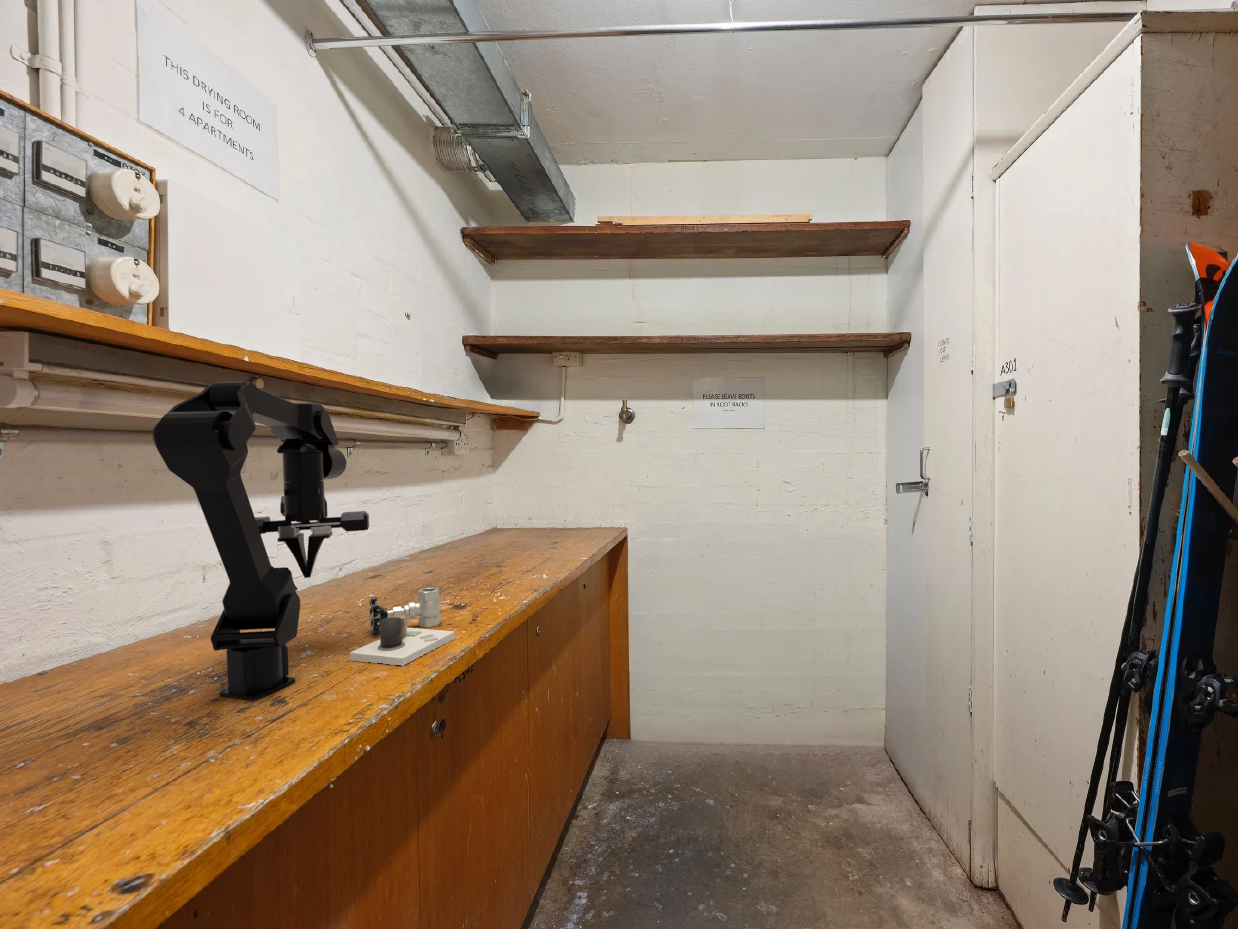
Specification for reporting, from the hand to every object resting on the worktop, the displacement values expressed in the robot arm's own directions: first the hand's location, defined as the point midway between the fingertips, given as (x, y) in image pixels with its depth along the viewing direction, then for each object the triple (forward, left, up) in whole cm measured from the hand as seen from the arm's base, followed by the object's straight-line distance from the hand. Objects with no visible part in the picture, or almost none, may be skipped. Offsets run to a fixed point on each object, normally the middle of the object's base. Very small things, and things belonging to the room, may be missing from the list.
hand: (307, 577), depth 92 cm
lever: (+4, -14, -10) cm, 18 cm away
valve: (+14, -8, -12) cm, 20 cm away
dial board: (+4, -15, -12) cm, 20 cm away
